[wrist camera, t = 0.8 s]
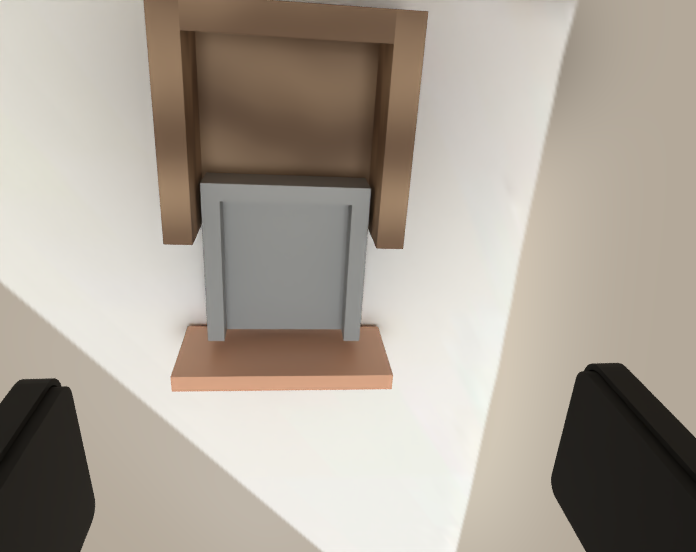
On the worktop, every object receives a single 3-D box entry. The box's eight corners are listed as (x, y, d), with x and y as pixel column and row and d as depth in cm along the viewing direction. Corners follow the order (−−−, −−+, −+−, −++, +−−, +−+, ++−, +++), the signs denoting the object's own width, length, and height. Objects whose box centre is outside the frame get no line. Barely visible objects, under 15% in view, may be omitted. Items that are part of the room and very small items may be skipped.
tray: (177, 168, 32) (155, 194, 27) (391, 175, 34) (411, 202, 28) (188, 339, 37) (171, 391, 32) (376, 339, 39) (391, 388, 33)
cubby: (167, -2, 29) (142, -9, 24) (405, 15, 31) (428, 11, 26) (181, 213, 34) (163, 244, 29) (386, 218, 35) (403, 248, 30)
